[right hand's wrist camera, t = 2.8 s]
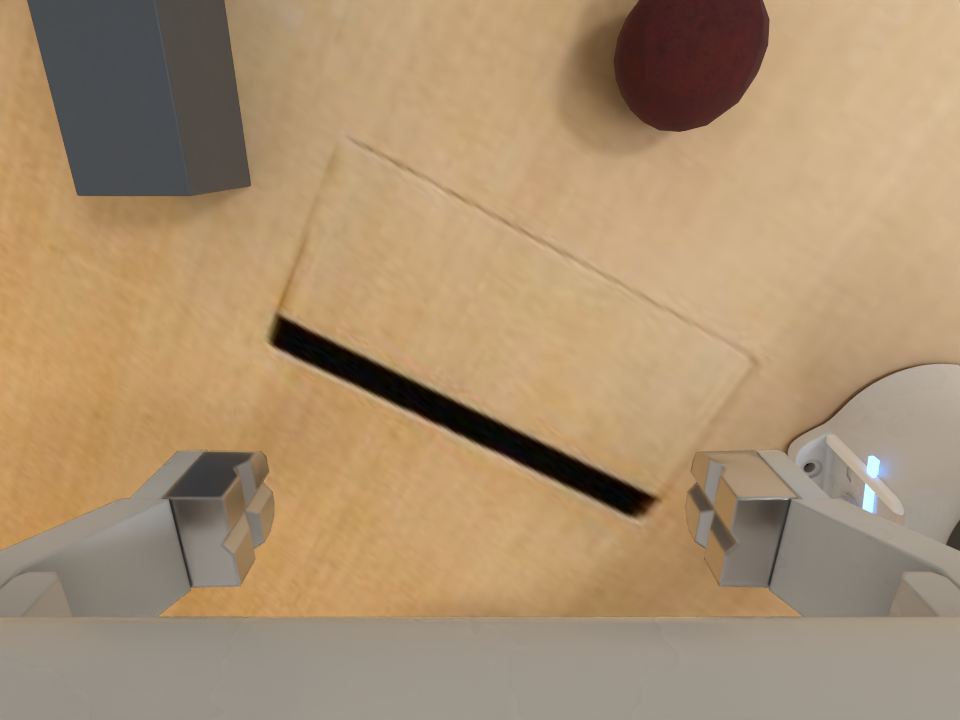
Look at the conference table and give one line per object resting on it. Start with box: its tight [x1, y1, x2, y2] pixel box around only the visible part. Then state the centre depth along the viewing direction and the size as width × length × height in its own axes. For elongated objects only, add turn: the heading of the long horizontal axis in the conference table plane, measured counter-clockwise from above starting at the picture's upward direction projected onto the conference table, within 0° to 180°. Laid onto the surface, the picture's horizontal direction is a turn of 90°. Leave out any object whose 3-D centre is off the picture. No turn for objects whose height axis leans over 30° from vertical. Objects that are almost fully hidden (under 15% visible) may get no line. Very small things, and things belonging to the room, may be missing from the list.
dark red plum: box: [614, 0, 769, 132], centre depth 29 cm, size 7×8×7 cm
